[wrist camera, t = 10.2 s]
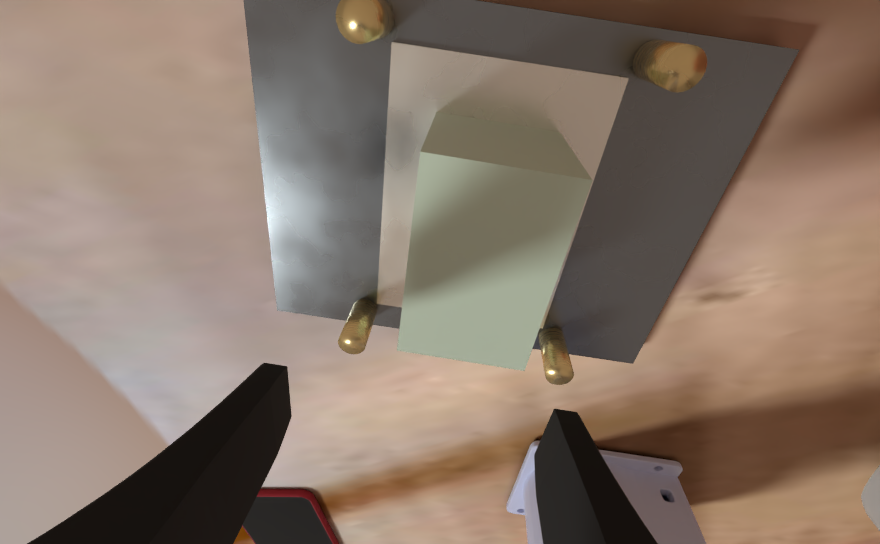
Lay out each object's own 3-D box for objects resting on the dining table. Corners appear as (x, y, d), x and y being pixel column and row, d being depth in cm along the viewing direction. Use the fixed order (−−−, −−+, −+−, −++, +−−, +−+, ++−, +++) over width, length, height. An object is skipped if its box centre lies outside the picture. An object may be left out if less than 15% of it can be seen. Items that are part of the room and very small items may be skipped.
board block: (559, 132, 15) (592, 180, 11) (513, 289, 19) (524, 371, 14) (436, 111, 15) (420, 151, 11) (415, 273, 19) (396, 350, 14)
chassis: (780, 47, 14) (861, 56, 11) (626, 349, 22) (650, 403, 19) (254, -34, 14) (193, -46, 11) (285, 298, 21) (254, 344, 18)
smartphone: (282, 582, 39) (218, 495, 32) (286, 571, 40) (224, 483, 32) (356, 584, 38) (309, 495, 31) (358, 573, 39) (313, 483, 31)
